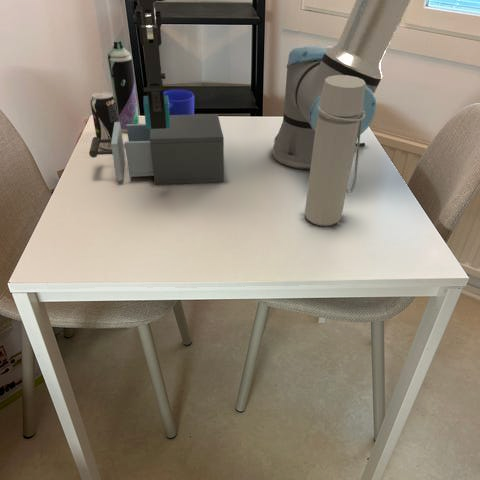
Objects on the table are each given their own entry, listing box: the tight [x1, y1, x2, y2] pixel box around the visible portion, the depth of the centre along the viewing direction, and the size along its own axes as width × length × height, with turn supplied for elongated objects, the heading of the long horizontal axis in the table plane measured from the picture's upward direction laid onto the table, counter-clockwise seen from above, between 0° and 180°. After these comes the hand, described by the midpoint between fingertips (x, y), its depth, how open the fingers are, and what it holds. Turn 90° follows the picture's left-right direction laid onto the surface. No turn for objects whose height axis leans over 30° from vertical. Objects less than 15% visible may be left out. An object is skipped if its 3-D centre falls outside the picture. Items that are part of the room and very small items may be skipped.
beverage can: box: [90, 90, 119, 151], centre depth 111 cm, size 6×6×12 cm
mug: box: [163, 89, 195, 115], centre depth 116 cm, size 8×12×10 cm
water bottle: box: [304, 75, 366, 227], centre depth 85 cm, size 9×8×25 cm
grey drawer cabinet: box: [150, 113, 225, 185], centre depth 104 cm, size 15×13×10 cm
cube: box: [143, 95, 170, 129], centre depth 88 cm, size 4×4×4 cm
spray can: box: [107, 40, 140, 133], centre depth 117 cm, size 6×6×20 cm
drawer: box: [88, 122, 154, 181], centre depth 103 cm, size 19×12×8 cm, turn 97°
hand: (158, 122), depth 89 cm, fingers closed on cube, 4 cm apart
